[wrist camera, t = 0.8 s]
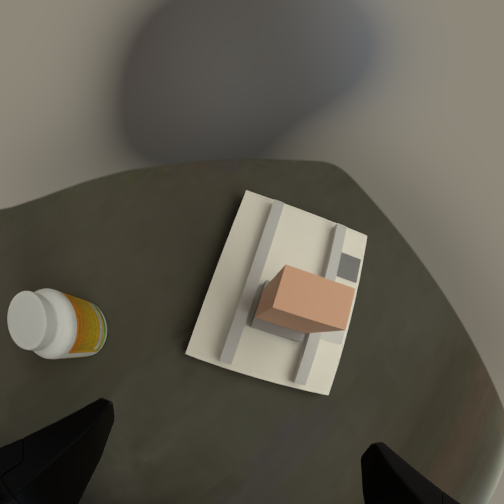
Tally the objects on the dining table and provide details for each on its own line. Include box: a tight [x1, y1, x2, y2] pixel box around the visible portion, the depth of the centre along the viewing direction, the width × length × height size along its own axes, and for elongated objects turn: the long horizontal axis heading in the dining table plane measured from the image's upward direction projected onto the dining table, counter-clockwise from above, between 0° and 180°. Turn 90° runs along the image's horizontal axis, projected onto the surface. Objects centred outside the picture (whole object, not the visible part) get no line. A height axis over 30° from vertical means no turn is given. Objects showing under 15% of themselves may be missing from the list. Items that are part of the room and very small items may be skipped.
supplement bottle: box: [7, 288, 107, 359], centre depth 18 cm, size 5×5×10 cm
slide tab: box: [250, 265, 355, 342], centre depth 19 cm, size 4×4×9 cm
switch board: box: [185, 190, 367, 395], centre depth 24 cm, size 16×13×2 cm
